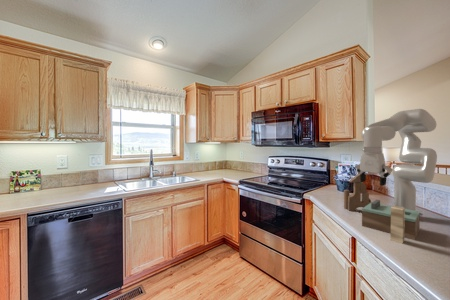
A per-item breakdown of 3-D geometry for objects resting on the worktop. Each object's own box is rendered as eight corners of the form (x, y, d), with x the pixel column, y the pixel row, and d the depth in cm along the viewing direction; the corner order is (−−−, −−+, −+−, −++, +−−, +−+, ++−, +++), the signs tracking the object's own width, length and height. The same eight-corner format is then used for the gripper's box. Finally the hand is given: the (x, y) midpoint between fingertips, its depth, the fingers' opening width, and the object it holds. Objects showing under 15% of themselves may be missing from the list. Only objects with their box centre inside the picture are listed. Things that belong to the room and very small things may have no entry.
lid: (371, 204, 112) (371, 197, 111) (419, 213, 96) (420, 205, 96) (362, 210, 101) (362, 202, 101) (415, 222, 86) (415, 213, 86)
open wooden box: (370, 220, 112) (370, 205, 112) (419, 232, 96) (419, 214, 96) (361, 228, 102) (362, 211, 101) (414, 242, 86) (415, 223, 86)
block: (392, 239, 89) (393, 205, 89) (404, 243, 86) (404, 207, 86) (390, 242, 87) (390, 207, 86) (402, 246, 84) (402, 209, 83)
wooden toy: (369, 209, 130) (369, 172, 129) (373, 213, 123) (374, 174, 123) (343, 207, 134) (343, 172, 134) (346, 210, 128) (346, 173, 127)
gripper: (351, 150, 106) (351, 181, 107) (386, 151, 90) (386, 187, 91) (361, 150, 109) (360, 180, 110) (397, 150, 93) (396, 186, 93)
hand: (372, 183), depth 100 cm, fingers open, 9 cm apart
